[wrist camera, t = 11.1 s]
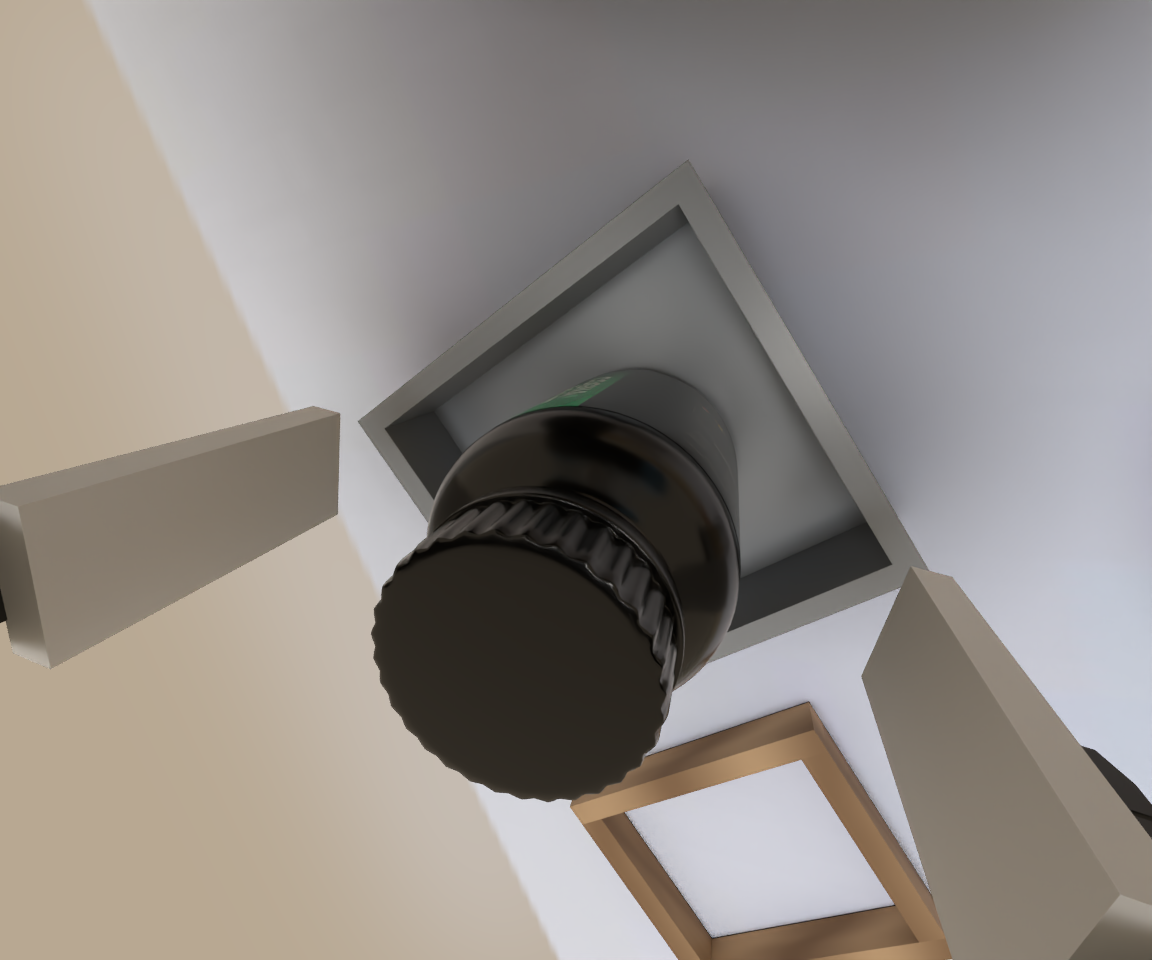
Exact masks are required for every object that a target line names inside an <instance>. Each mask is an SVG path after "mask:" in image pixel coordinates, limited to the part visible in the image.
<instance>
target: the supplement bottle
mask: <svg viewBox="0 0 1152 960" xmlns="http://www.w3.org/2000/svg"><path fill="white" fill-rule="evenodd" d="M740 575H741V554H740V520H739V488H738V467H737V459H736V452H735V448H734V444H733V441H732V438H731V435H730V433H729V431H728V428H727V426H726V424H725V422H724V421H723V419H722V417H721V416H720V414H719V413H718V412H717V410H716V409H715V408H714V406H713V405H712V404H711V403H710V402H709V401H708V400H707V399H706V398H705V397H704V396H703V395H702V394H701V393H699V392H698V391H697V390H695V389H694V388H693V387H691V386H690V385H688V384H686V383H685V382H683V381H681V380H679V379H677V378H674V377H672V376H669V375H666V374H663V373H660V372H655V371H650V370H642V369H627V370H618V371H612V372H608V373H604V374H601V375H598V376H596V377H593V378H591V379H588V380H586V381H584V382H582V383H580V384H578V385H576V386H574V387H572V388H570V389H568V390H566V391H564V392H562V393H560V394H558V395H556V396H554V397H552V398H550V399H548V400H546V401H544V402H542V403H540V404H538V405H536V406H534V407H532V408H530V409H528V410H526V411H524V412H522V413H520V414H518V415H516V416H514V417H512V418H511V419H509V420H507V421H505V422H503V423H501V424H499V425H497V426H496V427H495V428H493V429H492V430H490V431H489V432H487V433H486V434H484V435H483V436H481V437H480V438H479V439H477V440H476V441H475V442H474V443H473V444H472V445H470V446H469V447H468V448H467V449H466V450H465V451H464V452H463V453H462V454H461V455H460V456H459V458H458V459H457V460H456V461H455V463H454V464H453V465H452V467H451V468H450V469H449V471H448V473H447V474H446V476H445V478H444V479H443V481H442V483H441V485H440V487H439V490H438V492H437V494H436V497H435V500H434V503H433V506H432V509H431V513H430V518H429V522H428V529H427V538H426V539H424V540H423V541H422V542H420V543H419V544H418V546H417V547H416V548H415V549H414V550H413V551H412V552H410V553H409V554H408V555H407V556H405V557H404V558H403V559H402V560H401V561H400V562H399V563H398V564H397V566H396V568H395V571H394V574H393V576H391V577H390V578H389V579H388V580H387V581H386V582H385V584H384V585H383V587H382V594H381V600H380V601H379V603H378V604H377V605H376V607H375V608H374V616H375V625H374V627H373V629H372V632H371V635H372V639H373V641H374V644H375V651H374V660H375V663H376V665H377V666H378V668H379V670H380V682H381V684H382V686H383V687H384V689H385V690H386V691H387V693H388V694H389V699H390V703H391V706H392V707H393V709H394V710H395V711H396V712H397V713H398V714H399V715H400V716H401V717H402V720H403V722H404V725H405V727H406V729H407V730H409V731H410V732H411V733H413V734H414V735H415V736H416V737H418V739H419V741H420V742H421V744H422V745H423V747H424V748H425V749H426V750H427V751H429V752H431V753H432V754H434V755H436V756H437V757H438V758H439V759H440V760H441V761H442V762H443V764H444V765H445V766H446V767H448V768H451V769H453V770H456V771H458V772H460V773H461V774H462V775H463V776H465V777H466V778H467V779H468V780H469V781H471V782H475V783H480V784H483V785H485V786H486V787H488V788H489V789H491V790H493V791H494V792H498V793H509V794H511V795H513V796H515V797H518V798H520V799H531V798H536V799H539V800H542V801H546V802H551V801H554V800H556V799H567V800H576V799H578V798H580V797H581V796H582V795H584V794H599V793H601V792H602V791H603V790H604V788H605V787H606V786H608V785H613V784H617V783H621V782H622V781H623V779H624V778H625V776H626V774H627V772H629V771H632V770H634V769H636V768H638V767H640V766H641V765H642V763H643V761H644V758H645V754H646V753H647V752H649V751H650V750H651V749H652V748H654V747H655V746H656V744H657V742H658V740H659V736H660V731H661V726H662V725H663V723H664V722H665V720H666V718H667V716H668V713H669V707H670V701H671V695H672V692H673V691H674V690H676V689H677V688H679V687H680V686H682V685H683V684H685V683H686V682H687V681H688V680H690V679H691V678H692V677H693V676H695V675H696V674H697V673H698V672H699V671H700V670H701V669H702V668H703V667H704V666H705V665H706V664H707V663H708V661H709V660H710V659H711V657H712V656H713V655H714V654H715V652H716V651H717V649H718V648H719V646H720V644H721V643H722V641H723V639H724V638H725V635H726V633H727V631H728V629H729V627H730V625H731V622H732V619H733V616H734V613H735V609H736V605H737V600H738V594H739V586H740Z"/></svg>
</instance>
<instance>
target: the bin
mask: <svg viewBox="0 0 1152 960" xmlns="http://www.w3.org/2000/svg"><path fill="white" fill-rule="evenodd" d="M627 369H642V370H650V371H655V372H660V373H663V374H666V375H669V376H672V377H674V378H677V379H679V380H681V381H683V382H685V383H686V384H688V385H690V386H691V387H693V388H694V389H695V390H697V391H698V392H699V393H701V394H702V395H703V396H704V397H705V398H706V399H707V400H708V401H709V402H710V403H711V404H712V405H713V406H714V408H715V409H716V410H717V412H718V413H719V414H720V416H721V417H722V419H723V421H724V422H725V424H726V426H727V428H728V431H729V433H730V435H731V438H732V441H733V444H734V448H735V452H736V459H737V467H738V488H739V520H740V554H741V575H740V586H739V594H738V600H737V605H736V609H735V613H734V616H733V619H732V622H731V625H730V627H729V629H728V631H727V633H726V635H725V638H724V639H723V641H722V643H721V644H720V646H719V648H718V649H717V651H716V652H715V654H714V655H713V656H712V657H711V659H710V660H709V661H708V663H710V662H712V661H715V660H717V659H720V658H722V657H725V656H727V655H730V654H733V653H735V652H738V651H740V650H743V649H745V648H748V647H750V646H753V645H755V644H758V643H761V642H763V641H766V640H768V639H771V638H773V637H776V636H778V635H781V634H783V633H786V632H788V631H791V630H794V629H796V628H799V627H801V626H804V625H806V624H809V623H811V622H814V621H816V620H819V619H822V618H824V617H827V616H829V615H832V614H834V613H837V612H839V611H842V610H844V609H847V608H850V607H852V606H855V605H857V604H860V603H862V602H865V601H867V600H870V599H872V598H875V597H878V596H880V595H883V594H885V593H888V592H890V591H893V590H895V589H898V588H900V587H902V584H903V582H904V580H905V578H906V575H907V573H908V571H909V569H910V566H913V567H916V568H920V569H924V570H928V568H927V566H926V564H925V563H924V561H923V559H922V558H921V556H920V554H919V552H918V551H917V549H916V547H915V546H914V544H913V542H912V541H911V539H910V537H909V535H908V534H907V532H906V530H905V529H904V527H903V525H902V523H901V522H900V520H899V518H898V517H897V515H896V513H895V512H894V510H893V508H892V506H891V505H890V503H889V501H888V500H887V498H886V496H885V494H884V493H883V491H882V489H881V488H880V486H879V484H878V482H877V481H876V479H875V477H874V476H873V474H872V472H871V471H870V469H869V467H868V465H867V464H866V462H865V460H864V459H863V457H862V455H861V453H860V452H859V450H858V448H857V447H856V445H855V443H854V442H853V440H852V438H851V436H850V435H849V433H848V431H847V430H846V428H845V426H844V424H843V423H842V421H841V419H840V418H839V416H838V414H837V413H836V411H835V409H834V407H833V406H832V404H831V402H830V401H829V399H828V397H827V395H826V394H825V392H824V390H823V389H822V387H821V385H820V384H819V382H818V380H817V378H816V377H815V375H814V373H813V372H812V370H811V368H810V366H809V365H808V363H807V361H806V360H805V358H804V356H803V354H802V353H801V351H800V349H799V348H798V346H797V344H796V343H795V341H794V339H793V337H792V336H791V334H790V332H789V331H788V329H787V327H786V325H785V324H784V322H783V320H782V319H781V317H780V315H779V314H778V312H777V310H776V308H775V307H774V305H773V303H772V302H771V300H770V298H769V296H768V295H767V293H766V291H765V290H764V288H763V286H762V285H761V283H760V281H759V279H758V278H757V276H756V274H755V273H754V271H753V269H752V267H751V266H750V264H749V262H748V261H747V259H746V257H745V255H744V254H743V252H742V250H741V249H740V247H739V245H738V244H737V242H736V240H735V238H734V237H733V235H732V233H731V232H730V230H729V228H728V226H727V225H726V223H725V221H724V220H723V218H722V216H721V215H720V213H719V211H718V209H717V208H716V206H715V204H714V203H713V201H712V199H711V197H710V196H709V194H708V192H707V191H706V189H705V187H704V186H703V184H702V182H701V180H700V179H699V177H698V175H697V174H696V172H695V170H694V168H693V167H692V165H691V163H690V162H689V160H687V161H686V162H684V163H683V164H682V165H681V166H679V167H678V168H677V169H676V170H674V171H673V172H672V173H671V174H669V175H668V176H667V177H666V178H664V179H663V180H662V181H661V182H659V183H658V184H657V185H655V186H654V187H653V188H652V189H650V190H649V191H648V192H647V193H645V194H644V195H643V196H642V197H640V198H639V199H638V200H637V201H635V202H634V203H633V204H631V205H630V206H629V207H628V208H626V209H625V210H624V211H623V212H621V213H620V214H619V215H618V216H616V217H615V218H614V219H613V220H611V221H610V222H609V223H608V224H606V225H605V226H604V227H602V228H601V229H600V230H599V231H597V232H596V233H595V234H594V235H592V236H591V237H590V238H589V239H587V240H586V241H585V242H584V243H582V244H581V245H580V246H578V247H577V248H576V249H575V250H573V251H572V252H571V253H570V254H568V255H567V256H566V257H565V258H563V259H562V260H561V261H560V262H558V263H557V264H556V265H555V266H553V267H552V268H551V269H549V270H548V271H547V272H546V273H544V274H543V275H542V276H541V277H539V278H538V279H537V280H536V281H534V282H533V283H532V284H531V285H529V286H528V287H527V288H526V289H524V290H523V291H522V292H520V293H519V294H518V295H517V296H515V297H514V298H513V299H512V300H510V301H509V302H508V303H507V304H505V305H504V306H503V307H502V308H500V309H499V310H498V311H496V312H495V313H494V314H493V315H491V316H490V317H489V318H488V319H486V320H485V321H484V322H483V323H481V324H480V325H479V326H478V327H476V328H475V329H474V330H473V331H471V332H470V333H469V334H467V335H466V336H465V337H464V338H462V339H461V340H460V341H459V342H457V343H456V344H455V345H454V346H452V347H451V348H450V349H449V350H447V351H446V352H445V353H443V354H442V355H441V356H440V357H438V358H437V359H436V360H435V361H433V362H432V363H431V364H430V365H428V366H427V367H426V368H425V369H423V370H422V371H421V372H420V373H418V374H417V375H416V376H414V377H413V378H412V379H411V380H409V381H408V382H407V383H406V384H404V385H403V386H402V387H401V388H399V389H398V390H397V391H396V392H394V393H393V394H392V395H391V396H389V397H388V398H387V399H385V400H384V401H383V402H382V403H380V404H379V405H378V406H377V407H375V408H374V409H373V410H372V411H370V412H369V413H368V414H367V415H365V416H364V417H363V418H361V419H360V420H359V421H358V423H359V424H360V425H361V427H362V428H363V430H364V431H365V433H366V434H367V436H368V437H369V438H370V440H371V441H372V443H373V444H374V446H375V447H376V448H377V450H378V451H379V453H380V454H381V456H382V457H383V459H384V460H385V461H386V463H387V464H388V466H389V467H390V469H391V470H392V471H393V473H394V474H395V476H396V477H397V479H398V480H399V482H400V483H401V484H402V486H403V487H404V489H405V490H406V492H407V493H408V494H409V496H410V497H411V499H412V500H413V502H414V503H415V505H416V506H417V507H418V509H419V510H420V512H421V513H422V515H423V516H424V517H425V519H426V520H427V522H429V518H430V513H431V509H432V506H433V503H434V500H435V497H436V494H437V492H438V490H439V487H440V485H441V483H442V481H443V479H444V478H445V476H446V474H447V473H448V471H449V469H450V468H451V467H452V465H453V464H454V463H455V461H456V460H457V459H458V458H459V456H460V455H461V454H462V453H463V452H464V451H465V450H466V449H467V448H468V447H469V446H470V445H472V444H473V443H474V442H475V441H476V440H477V439H479V438H480V437H481V436H483V435H484V434H486V433H487V432H489V431H490V430H492V429H493V428H495V427H496V426H497V425H499V424H501V423H503V422H505V421H507V420H509V419H511V418H512V417H514V416H516V415H518V414H520V413H522V412H524V411H526V410H528V409H530V408H532V407H534V406H536V405H538V404H540V403H542V402H544V401H546V400H548V399H550V398H552V397H554V396H556V395H558V394H560V393H562V392H564V391H566V390H568V389H570V388H572V387H574V386H576V385H578V384H580V383H582V382H584V381H586V380H588V379H591V378H593V377H596V376H598V375H601V374H604V373H608V372H612V371H618V370H627ZM928 571H929V570H928Z"/></svg>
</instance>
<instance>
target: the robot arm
mask: <svg viewBox="0 0 1152 960" xmlns="http://www.w3.org/2000/svg"><path fill="white" fill-rule="evenodd" d="M339 442H340V413H337V412H334V411H330V410H326V409H322V408H319V407H315V406H312V407H308V408H304V409H300V410H296V411H292V412H289V413H285V414H281V415H277V416H273V417H269V418H265V419H261V420H257V421H254V422H249V423H246V424H242V425H237V426H234V427H230V428H226V429H222V430H218V431H214V432H210V433H206V434H203V435H198V436H194V437H191V438H186V439H182V440H179V441H175V442H171V443H167V444H163V445H159V446H155V447H151V448H147V449H143V450H140V451H136V452H131V453H128V454H124V455H120V456H116V457H112V458H108V459H104V460H101V461H96V462H92V463H88V464H84V465H80V466H76V467H73V468H69V469H65V470H61V471H57V472H53V473H49V474H45V475H41V476H37V477H33V478H29V479H25V480H22V481H18V482H14V483H10V484H7V485H2V486H0V623H1V622H4V621H6V624H7V629H8V633H9V638H10V642H11V646H12V650H13V653H14V654H16V655H18V656H21V657H23V658H26V659H28V660H30V661H33V662H35V663H37V664H40V665H42V666H44V667H47V668H49V669H51V668H53V667H55V666H57V665H59V664H61V663H63V662H65V661H66V660H68V659H70V658H72V657H74V656H76V655H77V654H79V653H81V652H83V651H84V650H87V649H89V648H90V647H92V646H94V645H96V644H98V643H100V642H102V641H104V640H105V639H107V638H109V637H111V636H113V635H115V634H116V633H118V632H120V631H122V630H124V629H126V628H128V627H129V626H131V625H133V624H135V623H137V622H139V621H141V620H142V619H144V618H146V617H148V616H150V615H152V614H154V613H155V612H157V611H159V610H161V609H163V608H165V607H167V606H168V605H170V604H172V603H174V602H176V601H178V600H179V599H181V598H183V597H185V596H187V595H189V594H190V593H193V592H194V591H196V590H198V589H200V588H202V587H204V586H206V585H207V584H209V583H211V582H213V581H215V580H216V579H219V578H220V577H222V576H224V575H226V574H228V573H230V572H232V571H233V570H235V569H237V568H239V567H241V566H243V565H244V564H246V563H248V562H250V561H252V560H254V559H256V558H257V557H259V556H261V555H263V554H265V553H267V552H269V551H270V550H272V549H274V548H276V547H277V546H280V545H282V544H283V543H285V542H287V541H289V540H291V539H293V538H294V537H296V536H298V535H300V534H302V533H304V532H305V531H307V530H309V529H311V528H313V527H315V526H317V525H319V524H320V523H322V522H324V521H326V520H328V519H330V518H332V517H334V516H335V515H337V514H338V482H339ZM861 677H862V680H863V683H864V686H865V689H866V692H867V695H868V698H869V701H870V705H871V708H872V711H873V714H874V717H875V720H876V723H877V726H878V729H879V733H880V736H881V739H882V742H883V745H884V748H885V751H886V754H887V757H888V761H889V764H890V767H891V770H892V773H893V776H894V779H895V782H896V785H897V789H898V792H899V795H900V798H901V801H902V804H903V807H904V810H905V813H906V816H907V820H908V823H909V826H910V829H911V832H912V835H913V838H914V841H915V844H916V848H917V851H918V854H919V857H920V860H921V863H922V866H923V869H924V872H925V876H926V879H927V882H928V885H929V888H930V891H931V894H932V897H933V900H934V903H935V907H936V910H937V913H938V916H939V919H940V922H941V925H942V928H943V931H944V935H945V938H946V941H947V944H948V947H949V950H950V953H951V956H952V959H953V960H1152V804H1151V803H1150V802H1149V801H1148V799H1147V798H1146V797H1145V796H1144V795H1143V793H1142V792H1141V791H1140V790H1139V788H1138V787H1137V786H1136V785H1135V784H1134V783H1133V782H1132V781H1131V780H1129V779H1128V778H1127V777H1126V776H1125V775H1124V774H1122V773H1121V772H1120V771H1119V770H1118V769H1117V768H1115V767H1114V766H1113V765H1112V764H1111V763H1110V762H1108V761H1107V760H1106V759H1105V758H1104V757H1102V756H1101V755H1100V754H1099V753H1098V752H1097V751H1095V750H1093V749H1090V748H1087V747H1083V746H1081V745H1080V744H1079V743H1078V742H1077V740H1076V739H1075V738H1074V736H1073V735H1072V734H1071V732H1070V731H1069V730H1068V728H1067V727H1066V726H1065V724H1064V723H1063V722H1062V721H1061V719H1060V718H1059V717H1058V715H1057V714H1056V713H1055V711H1054V710H1053V709H1052V707H1051V706H1050V705H1049V703H1048V702H1047V701H1046V700H1045V698H1044V697H1043V696H1042V694H1041V693H1040V692H1039V690H1038V689H1037V688H1036V686H1035V685H1034V684H1033V682H1032V681H1031V680H1030V678H1029V677H1028V676H1027V675H1026V673H1025V672H1024V671H1023V669H1022V668H1021V667H1020V665H1019V664H1018V663H1017V661H1016V660H1015V659H1014V657H1013V656H1012V655H1011V654H1010V652H1009V651H1008V650H1007V648H1006V647H1005V646H1004V644H1003V643H1002V642H1001V640H1000V639H999V638H998V636H997V635H996V634H995V633H994V631H993V630H992V629H991V627H990V626H989V625H988V623H987V622H986V621H985V619H984V618H983V617H982V615H981V614H980V613H979V612H978V610H977V609H976V608H975V606H974V605H973V604H972V602H971V601H970V600H969V598H968V597H967V596H966V594H965V593H964V592H963V590H962V589H961V588H960V587H959V585H958V584H957V583H956V581H955V580H954V579H953V577H950V576H946V575H943V574H939V573H935V572H931V571H928V570H924V569H920V568H916V567H913V566H910V569H909V571H908V573H907V575H906V578H905V580H904V582H903V584H902V587H901V589H900V591H899V593H898V595H897V598H896V600H895V602H894V604H893V607H892V609H891V611H890V613H889V616H888V618H887V620H886V622H885V624H884V627H883V629H882V631H881V633H880V636H879V638H878V640H877V642H876V645H875V647H874V649H873V651H872V653H871V656H870V658H869V660H868V662H867V665H866V667H865V669H864V671H863V674H862V676H861Z"/></svg>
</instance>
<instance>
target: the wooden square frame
mask: <svg viewBox="0 0 1152 960" xmlns="http://www.w3.org/2000/svg"><path fill="white" fill-rule="evenodd" d="M798 760H802V761H803V763H804V764H805V766H806V767H807V769H808V770H809V772H810V774H811V775H812V777H813V778H814V780H815V781H816V783H817V784H818V786H819V788H820V789H821V791H822V792H823V794H824V795H825V797H826V798H827V800H828V801H829V803H830V805H831V806H832V808H833V809H834V811H835V812H836V814H837V815H838V817H839V819H840V820H841V822H842V823H843V825H844V826H845V828H846V829H847V831H848V833H849V834H850V836H851V837H852V839H853V840H854V842H855V843H856V845H857V846H858V848H859V850H860V851H861V853H862V854H863V856H864V857H865V859H866V860H867V862H868V864H869V865H870V867H871V868H872V870H873V871H874V873H875V874H876V876H877V878H878V879H879V881H880V882H881V884H882V885H883V887H884V888H885V890H886V891H887V893H888V895H889V896H890V898H891V899H892V901H893V902H894V904H895V905H896V906H892V907H886V908H881V909H875V910H870V911H864V912H859V913H853V914H848V915H842V916H836V917H831V918H825V919H820V920H814V921H809V922H803V923H798V924H792V925H787V926H781V927H775V928H770V929H764V930H759V931H753V932H748V933H742V934H737V935H731V936H725V937H720V938H714V939H712V938H711V937H710V935H709V934H708V932H707V931H706V930H705V928H704V927H703V925H702V924H701V922H700V921H699V920H698V918H697V917H696V915H695V914H694V912H693V911H692V909H691V908H690V907H689V905H688V904H687V902H686V901H685V899H684V898H683V897H682V895H681V894H680V892H679V891H678V889H677V888H676V887H675V885H674V884H673V882H672V881H671V879H670V878H669V876H668V875H667V874H666V872H665V871H664V869H663V868H662V866H661V865H660V864H659V862H658V861H657V859H656V858H655V856H654V855H653V854H652V852H651V851H650V849H649V848H648V846H647V845H646V844H645V842H644V841H643V839H642V838H641V836H640V835H639V833H638V832H637V831H636V829H635V828H634V826H633V825H632V823H631V822H630V821H629V819H628V818H627V816H626V815H625V813H624V812H627V811H630V810H633V809H637V808H640V807H643V806H647V805H650V804H653V803H657V802H660V801H664V800H667V799H670V798H674V797H677V796H680V795H684V794H687V793H690V792H694V791H697V790H701V789H704V788H707V787H711V786H714V785H717V784H721V783H724V782H727V781H731V780H734V779H738V778H741V777H744V776H748V775H751V774H754V773H758V772H761V771H764V770H768V769H771V768H775V767H778V766H781V765H785V764H788V763H791V762H795V761H798ZM570 808H571V809H572V810H573V812H574V813H575V815H576V816H577V817H578V819H579V820H580V822H581V823H582V825H583V826H584V827H585V829H586V830H587V832H588V833H589V834H590V836H591V837H592V839H593V840H594V841H595V843H596V844H597V846H598V847H599V848H600V850H601V851H602V853H603V854H604V856H605V857H606V858H607V860H608V861H609V863H610V864H611V865H612V867H613V868H614V870H615V871H616V872H617V874H618V875H619V877H620V878H621V879H622V881H623V882H624V884H625V885H626V887H627V888H628V889H629V891H630V892H631V894H632V895H633V896H634V898H635V899H636V901H637V902H638V903H639V905H640V906H641V908H642V909H643V910H644V912H645V913H646V915H647V916H648V918H649V919H650V920H651V922H652V923H653V925H654V926H655V927H656V929H657V930H658V932H659V933H660V934H661V936H662V937H663V939H664V940H665V941H666V943H667V944H668V946H669V947H670V948H671V950H672V951H673V953H674V954H675V956H676V957H677V958H678V960H948V959H952V956H951V953H950V950H949V947H948V944H947V941H946V938H945V935H944V931H943V928H942V925H941V922H940V919H939V916H938V913H937V910H936V907H935V903H934V900H933V897H932V896H931V894H930V892H929V891H928V889H927V888H926V886H925V885H924V883H923V881H922V880H921V878H920V877H919V875H918V873H917V872H916V870H915V869H914V867H913V866H912V864H911V862H910V861H909V859H908V858H907V856H906V855H905V853H904V851H903V850H902V848H901V847H900V845H899V843H898V842H897V840H896V839H895V837H894V836H893V834H892V832H891V831H890V829H889V828H888V826H887V825H886V823H885V821H884V820H883V818H882V817H881V815H880V814H879V812H878V810H877V809H876V807H875V806H874V804H873V802H872V801H871V799H870V798H869V796H868V795H867V793H866V791H865V790H864V788H863V787H862V785H861V784H860V782H859V780H858V779H857V777H856V776H855V774H854V772H853V771H852V769H851V768H850V766H849V765H848V763H847V761H846V760H845V758H844V757H843V755H842V754H841V752H840V750H839V749H838V747H837V746H836V744H835V743H834V741H833V739H832V738H831V736H830V735H829V733H828V731H827V730H826V728H825V727H824V725H823V724H822V722H821V720H820V719H819V717H818V716H817V714H816V713H815V711H814V709H813V708H812V706H811V705H810V703H809V702H808V703H805V704H802V705H799V706H796V707H793V708H790V709H787V710H784V711H781V712H778V713H775V714H772V715H769V716H766V717H763V718H760V719H757V720H754V721H751V722H748V723H745V724H742V725H739V726H736V727H733V728H730V729H727V730H725V731H722V732H719V733H716V734H713V735H710V736H707V737H704V738H701V739H698V740H695V741H692V742H689V743H686V744H683V745H680V746H677V747H674V748H671V749H668V750H665V751H662V752H659V753H656V754H653V755H650V756H647V757H645V758H644V761H643V763H642V765H641V766H640V767H638V768H636V769H634V770H632V771H629V772H627V774H626V776H625V778H624V779H623V781H622V782H621V783H617V784H613V785H608V786H606V787H605V788H604V790H603V791H602V792H601V793H599V794H584V795H582V796H581V797H580V798H578V799H576V800H572V802H571V805H570Z"/></svg>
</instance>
